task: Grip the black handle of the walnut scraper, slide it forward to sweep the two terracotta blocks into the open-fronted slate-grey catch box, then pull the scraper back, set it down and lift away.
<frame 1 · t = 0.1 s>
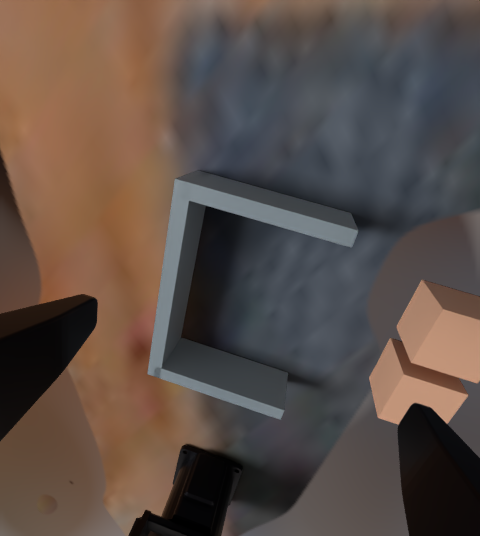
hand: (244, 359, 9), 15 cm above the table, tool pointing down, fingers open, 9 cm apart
block 1: (405, 366, 25), on the table
block 2: (437, 312, 23), on the table
catch box: (249, 288, 25), on the table
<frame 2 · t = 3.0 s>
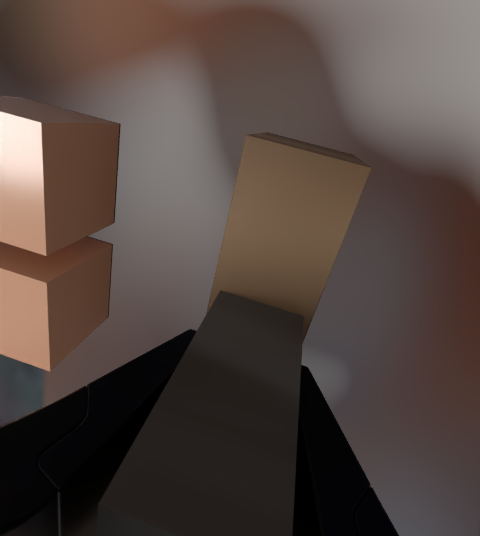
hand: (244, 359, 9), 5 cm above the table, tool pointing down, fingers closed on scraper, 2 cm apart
block 1: (72, 270, 15), on the table
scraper: (267, 281, 14), on the table, touching gripper
block 2: (72, 163, 13), on the table
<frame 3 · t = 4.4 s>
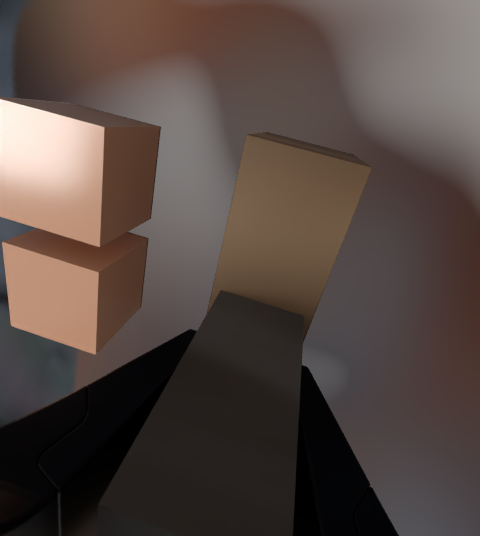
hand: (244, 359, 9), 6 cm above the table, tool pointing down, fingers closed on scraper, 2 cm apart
block 1: (108, 263, 17), on the table
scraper: (268, 281, 14), point 1 cm above the table, touching gripper
block 2: (113, 163, 14), on the table
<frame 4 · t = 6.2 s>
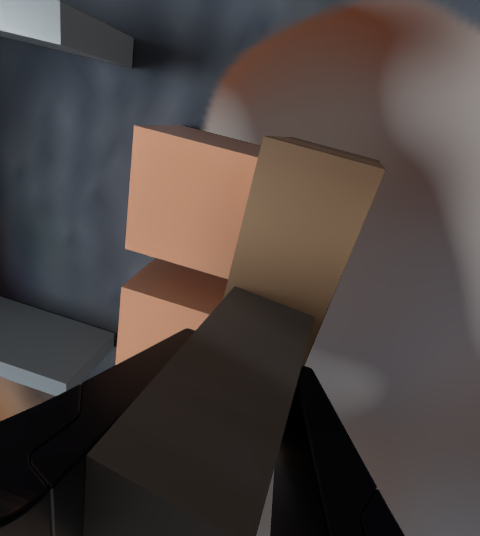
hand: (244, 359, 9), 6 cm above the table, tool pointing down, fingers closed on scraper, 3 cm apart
block 1: (198, 297, 16), on the table, touching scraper
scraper: (288, 284, 14), point 1 cm above the table, tilted 8°, touching block 1, block 2, gripper
block 2: (220, 187, 14), on the table, touching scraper
catch box: (26, 197, 16), on the table
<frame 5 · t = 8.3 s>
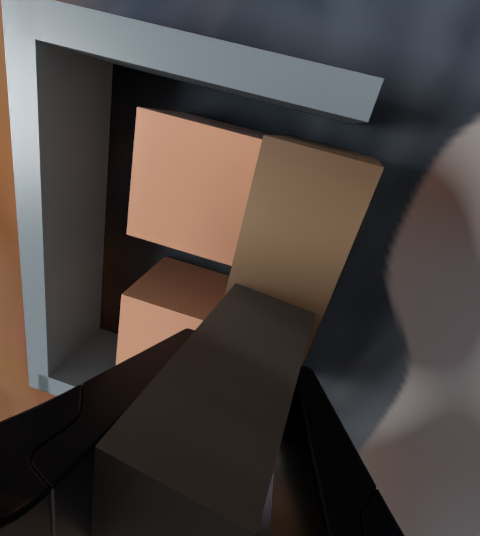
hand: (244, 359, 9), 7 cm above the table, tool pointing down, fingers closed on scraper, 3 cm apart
block 1: (197, 302, 16), on the table, touching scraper
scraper: (288, 281, 14), point 1 cm above the table, tilted 8°, touching block 1, block 2, gripper
block 2: (222, 175, 14), on the table, touching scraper
catch box: (194, 245, 15), on the table
when the fingers open (6 cm above the table, at t = 10.7 s): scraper stays where it is, on the table.
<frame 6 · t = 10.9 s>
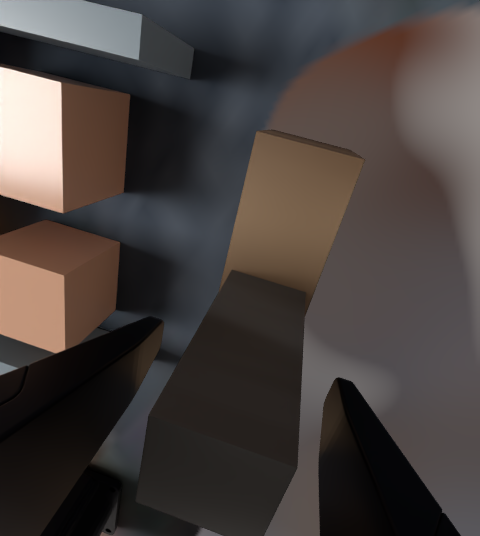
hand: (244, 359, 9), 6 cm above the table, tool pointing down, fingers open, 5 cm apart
block 1: (83, 266, 17), on the table
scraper: (272, 266, 15), on the table
block 2: (84, 134, 14), on the table
catch box: (69, 208, 16), on the table
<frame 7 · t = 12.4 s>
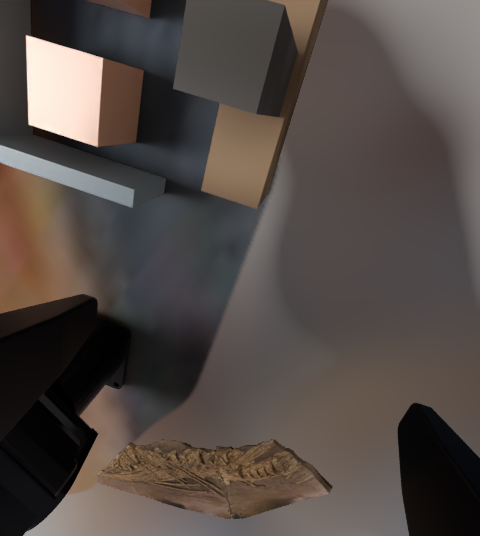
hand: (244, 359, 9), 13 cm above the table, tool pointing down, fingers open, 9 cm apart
block 1: (109, 98, 20), on the table
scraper: (271, 86, 18), on the table
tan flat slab: (197, 473, 33), on the table
catch box: (102, 37, 18), on the table
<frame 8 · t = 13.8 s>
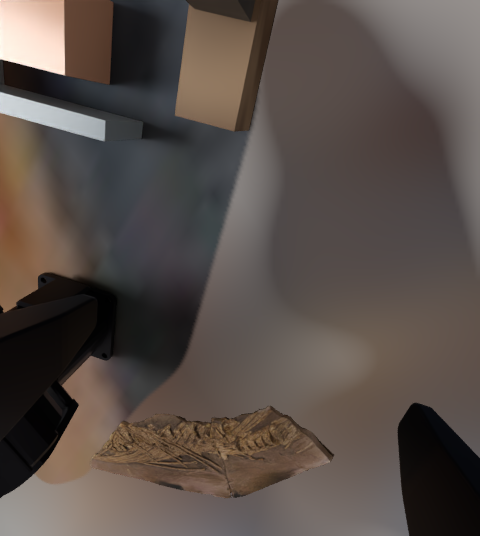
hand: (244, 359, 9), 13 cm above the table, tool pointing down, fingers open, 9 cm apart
block 1: (80, 38, 19), on the table
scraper: (246, 9, 17), on the table
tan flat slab: (194, 450, 32), on the table
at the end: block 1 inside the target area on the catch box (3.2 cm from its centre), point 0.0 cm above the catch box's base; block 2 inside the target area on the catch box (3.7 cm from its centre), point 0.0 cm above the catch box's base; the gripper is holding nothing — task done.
